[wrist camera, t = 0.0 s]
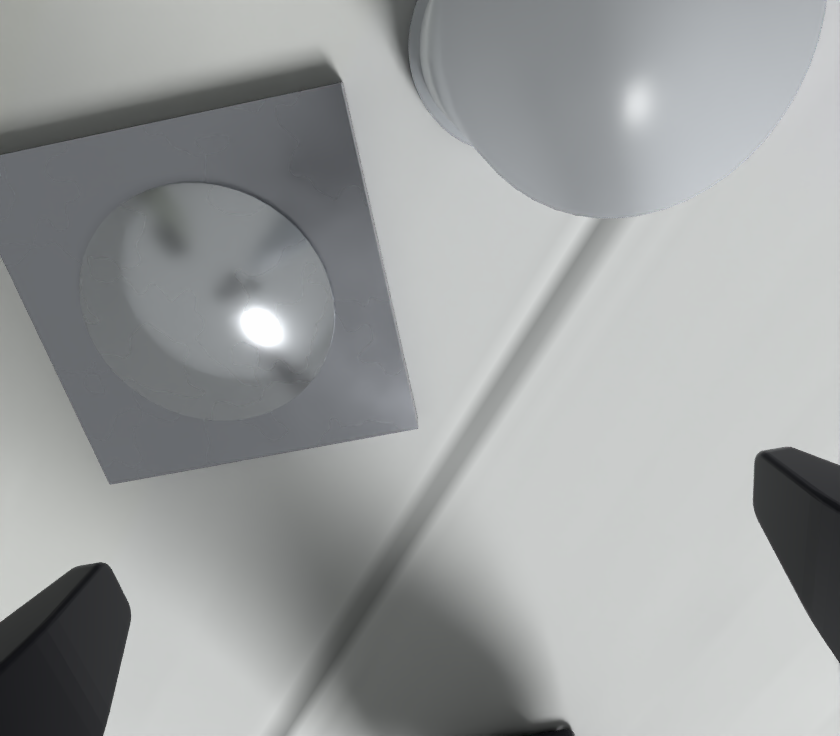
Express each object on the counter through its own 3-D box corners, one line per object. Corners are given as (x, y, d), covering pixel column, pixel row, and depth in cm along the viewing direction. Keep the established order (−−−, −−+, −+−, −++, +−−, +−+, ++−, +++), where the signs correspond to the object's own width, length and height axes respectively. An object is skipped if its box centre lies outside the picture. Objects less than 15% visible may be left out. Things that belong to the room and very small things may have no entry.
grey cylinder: (606, 128, 21) (834, 197, 10) (428, 164, 21) (457, 270, 10) (592, -87, 18) (874, -312, 7) (390, -42, 19) (376, -193, 8)
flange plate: (417, 417, 25) (418, 431, 24) (117, 472, 26) (107, 487, 25) (342, 82, 20) (340, 82, 19) (-28, 160, 21) (-47, 165, 20)
